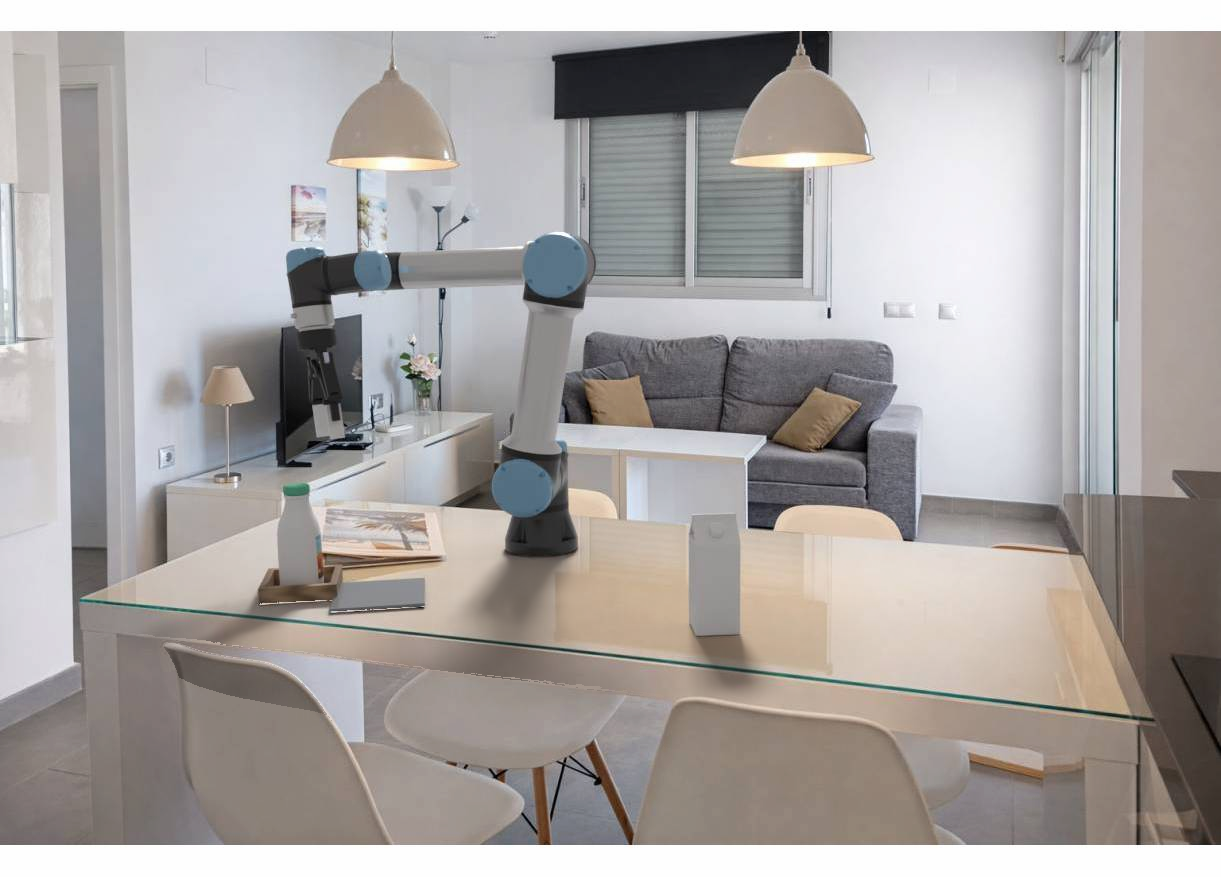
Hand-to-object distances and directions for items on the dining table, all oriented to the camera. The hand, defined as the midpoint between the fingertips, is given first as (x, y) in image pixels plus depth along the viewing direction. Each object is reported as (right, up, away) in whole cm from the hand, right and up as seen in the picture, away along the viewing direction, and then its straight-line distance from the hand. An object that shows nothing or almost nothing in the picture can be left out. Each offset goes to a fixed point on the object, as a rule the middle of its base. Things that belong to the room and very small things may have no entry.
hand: (330, 437), depth 217 cm
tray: (-1, -28, -14) cm, 32 cm away
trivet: (+13, -29, -18) cm, 36 cm away
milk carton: (+71, -31, -38) cm, 87 cm away
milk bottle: (-1, -28, -14) cm, 32 cm away
